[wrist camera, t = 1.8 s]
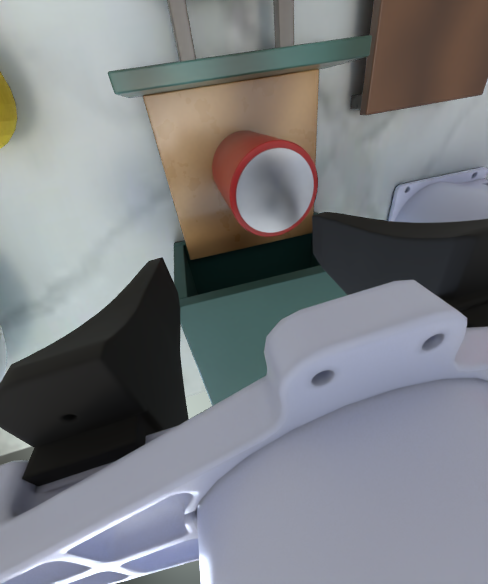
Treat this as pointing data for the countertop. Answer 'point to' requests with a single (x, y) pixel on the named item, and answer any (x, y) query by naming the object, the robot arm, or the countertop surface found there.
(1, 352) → the serving bowl
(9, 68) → the countertop surface
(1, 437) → the countertop surface
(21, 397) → the robot arm
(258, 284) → the teal open box
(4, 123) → the lemon
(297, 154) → the can
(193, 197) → the handled drawer
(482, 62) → the brown square board
